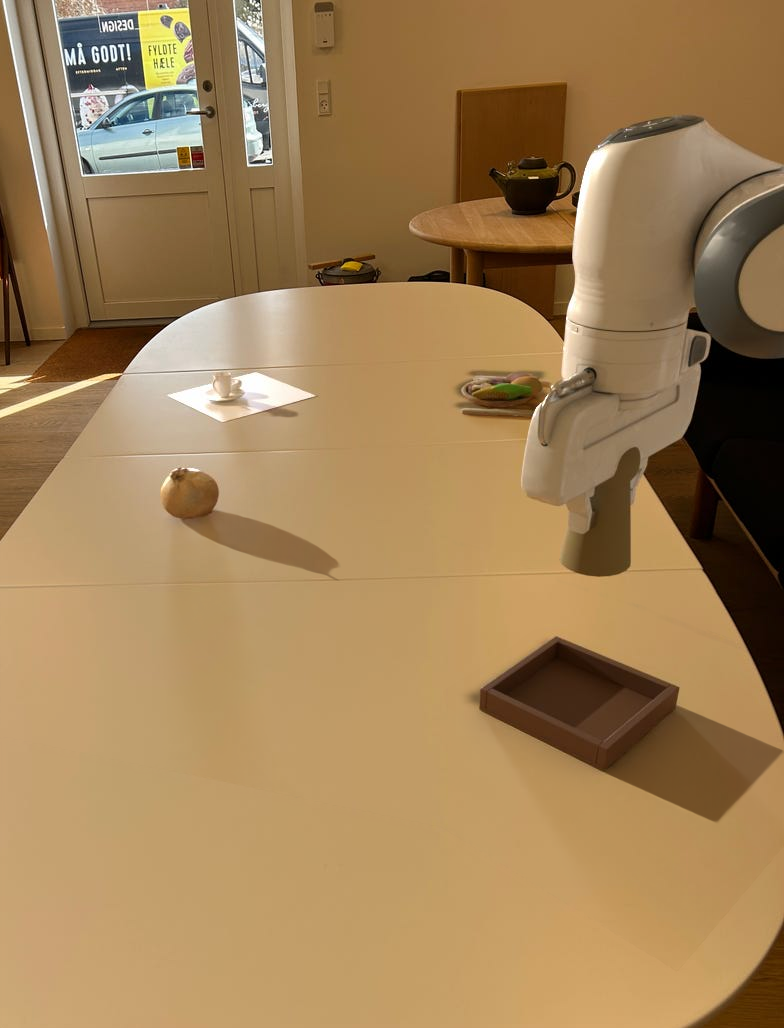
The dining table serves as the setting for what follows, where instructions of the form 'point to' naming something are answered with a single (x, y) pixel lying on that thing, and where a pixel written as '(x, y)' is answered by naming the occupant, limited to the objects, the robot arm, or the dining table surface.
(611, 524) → the chess pawn figurine
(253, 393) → the teacup and saucer
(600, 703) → the tray
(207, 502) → the onion
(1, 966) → the dining table surface
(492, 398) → the toy food set
